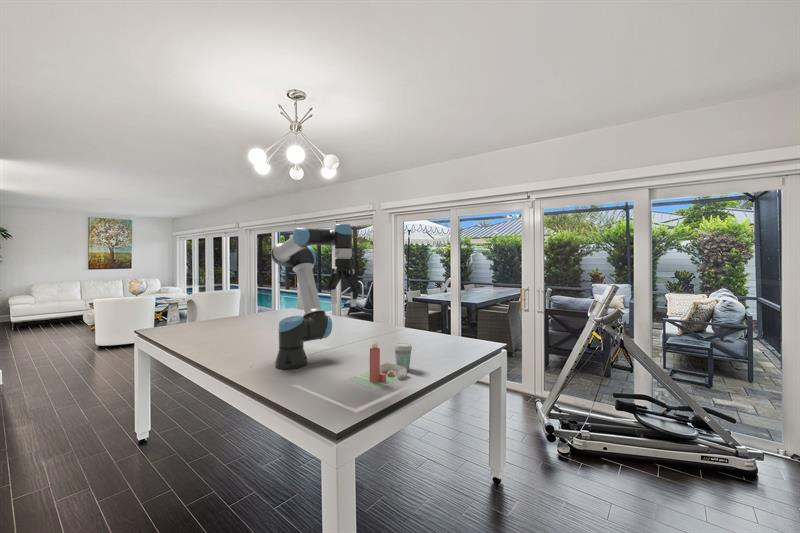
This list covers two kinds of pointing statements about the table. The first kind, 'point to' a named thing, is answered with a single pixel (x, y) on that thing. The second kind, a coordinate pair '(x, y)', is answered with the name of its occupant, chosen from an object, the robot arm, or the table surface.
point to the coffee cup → (403, 354)
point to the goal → (394, 369)
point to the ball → (390, 373)
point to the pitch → (365, 380)
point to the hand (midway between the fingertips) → (343, 305)
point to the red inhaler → (375, 365)
